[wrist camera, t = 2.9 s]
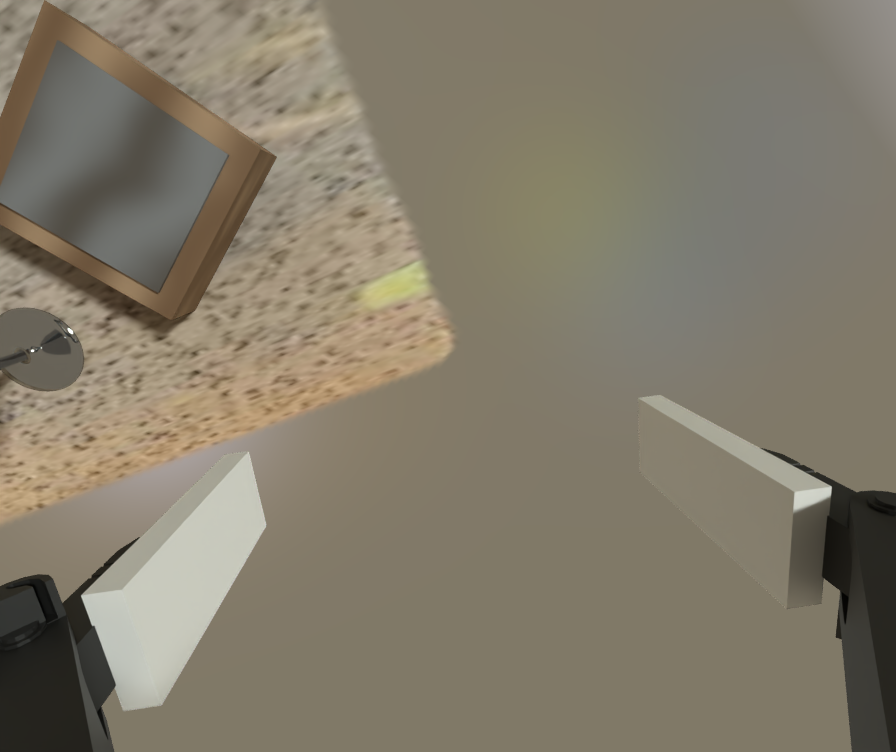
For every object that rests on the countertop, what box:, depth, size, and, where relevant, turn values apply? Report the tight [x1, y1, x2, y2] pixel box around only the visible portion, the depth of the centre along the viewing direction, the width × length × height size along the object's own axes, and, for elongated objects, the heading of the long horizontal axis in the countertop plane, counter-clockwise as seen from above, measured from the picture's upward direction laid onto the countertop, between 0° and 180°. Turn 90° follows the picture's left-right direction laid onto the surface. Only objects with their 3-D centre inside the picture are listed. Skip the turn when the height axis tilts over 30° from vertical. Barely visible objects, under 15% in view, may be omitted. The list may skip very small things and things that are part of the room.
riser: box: [0, 0, 277, 320], centre depth 32 cm, size 14×14×4 cm
